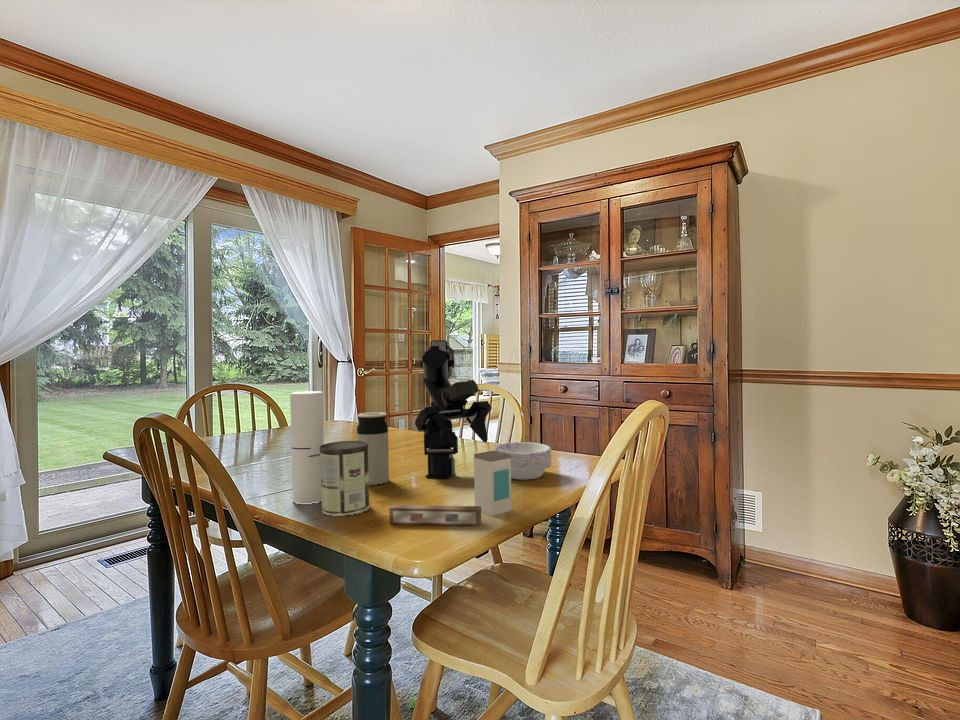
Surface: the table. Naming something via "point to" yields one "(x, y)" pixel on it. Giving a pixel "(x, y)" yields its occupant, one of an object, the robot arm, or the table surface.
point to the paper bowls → (527, 459)
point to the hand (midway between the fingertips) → (470, 444)
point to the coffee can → (344, 477)
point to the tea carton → (493, 482)
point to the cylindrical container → (306, 445)
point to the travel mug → (375, 445)
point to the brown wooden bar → (435, 515)
